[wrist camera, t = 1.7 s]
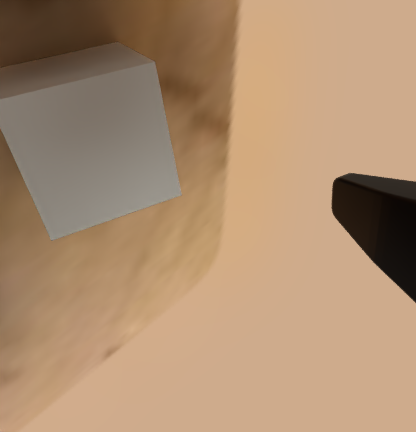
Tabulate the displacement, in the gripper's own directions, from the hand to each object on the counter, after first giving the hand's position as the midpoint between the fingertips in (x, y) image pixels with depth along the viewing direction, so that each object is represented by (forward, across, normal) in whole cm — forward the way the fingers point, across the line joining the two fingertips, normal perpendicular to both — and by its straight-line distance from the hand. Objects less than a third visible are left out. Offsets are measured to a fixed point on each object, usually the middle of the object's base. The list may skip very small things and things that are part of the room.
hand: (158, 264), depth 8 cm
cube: (+11, 0, 0) cm, 11 cm away
